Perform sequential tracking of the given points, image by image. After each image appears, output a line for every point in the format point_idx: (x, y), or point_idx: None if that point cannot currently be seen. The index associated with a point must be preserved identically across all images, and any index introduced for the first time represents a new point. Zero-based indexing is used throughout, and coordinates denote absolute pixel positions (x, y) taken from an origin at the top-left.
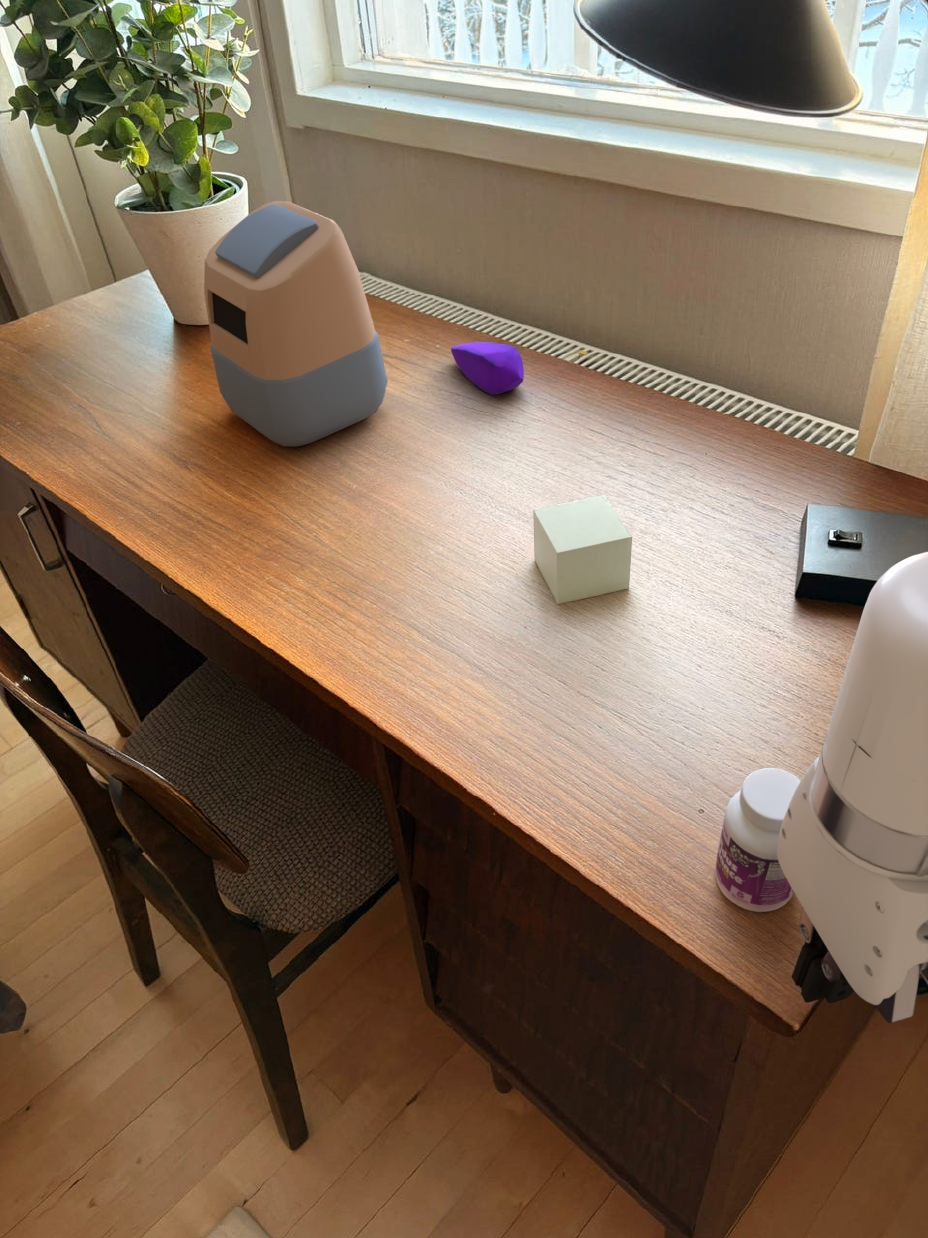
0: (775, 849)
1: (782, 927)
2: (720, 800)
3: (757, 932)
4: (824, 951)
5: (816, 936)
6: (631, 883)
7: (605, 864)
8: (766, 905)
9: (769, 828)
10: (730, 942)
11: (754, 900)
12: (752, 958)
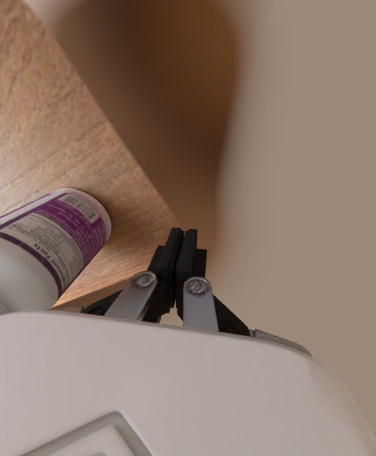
0: (42, 306)
1: (126, 220)
2: (3, 202)
3: (127, 237)
4: (171, 299)
5: (157, 321)
6: (83, 283)
7: (69, 289)
8: (106, 235)
9: None
10: (132, 256)
11: (101, 247)
12: (146, 250)
